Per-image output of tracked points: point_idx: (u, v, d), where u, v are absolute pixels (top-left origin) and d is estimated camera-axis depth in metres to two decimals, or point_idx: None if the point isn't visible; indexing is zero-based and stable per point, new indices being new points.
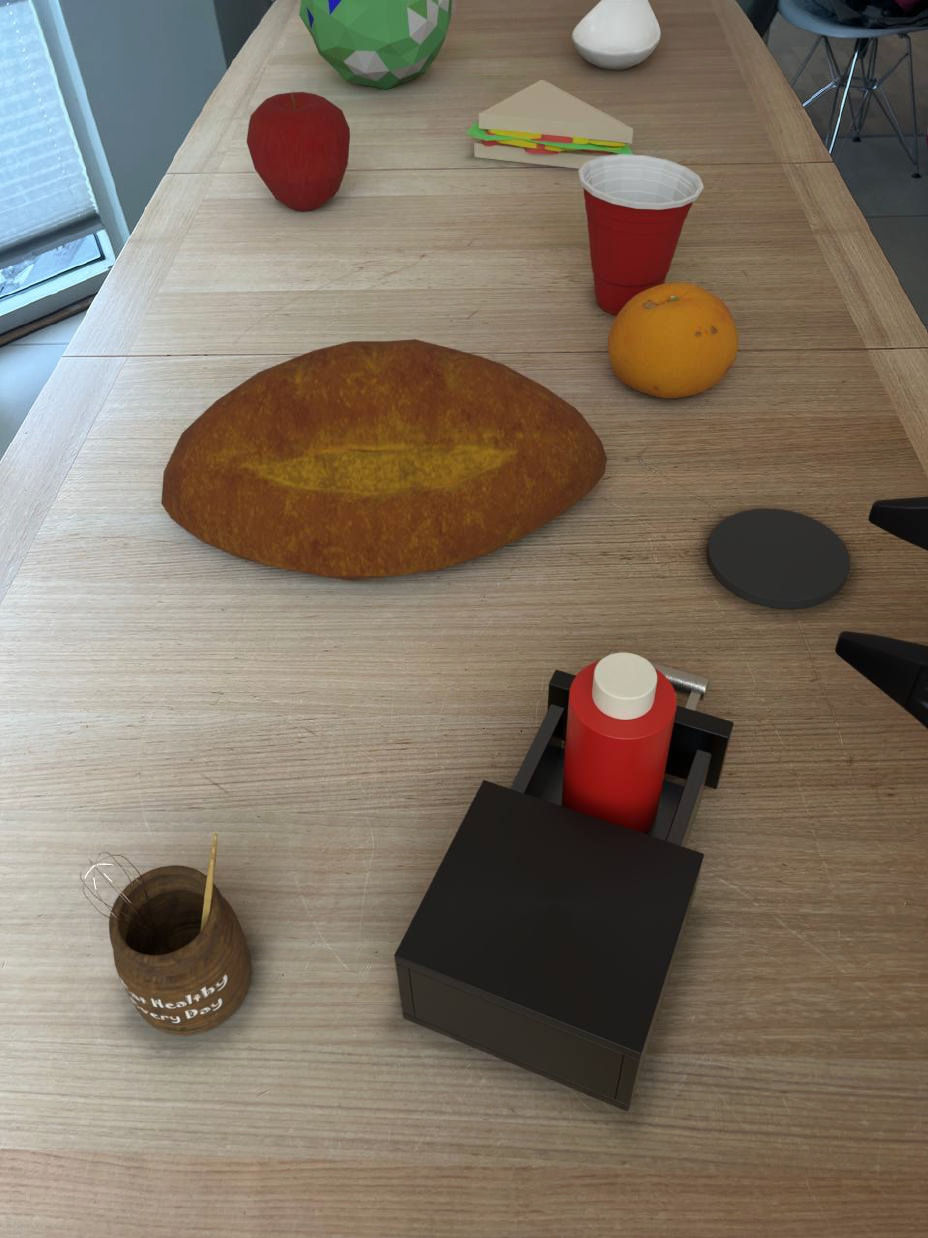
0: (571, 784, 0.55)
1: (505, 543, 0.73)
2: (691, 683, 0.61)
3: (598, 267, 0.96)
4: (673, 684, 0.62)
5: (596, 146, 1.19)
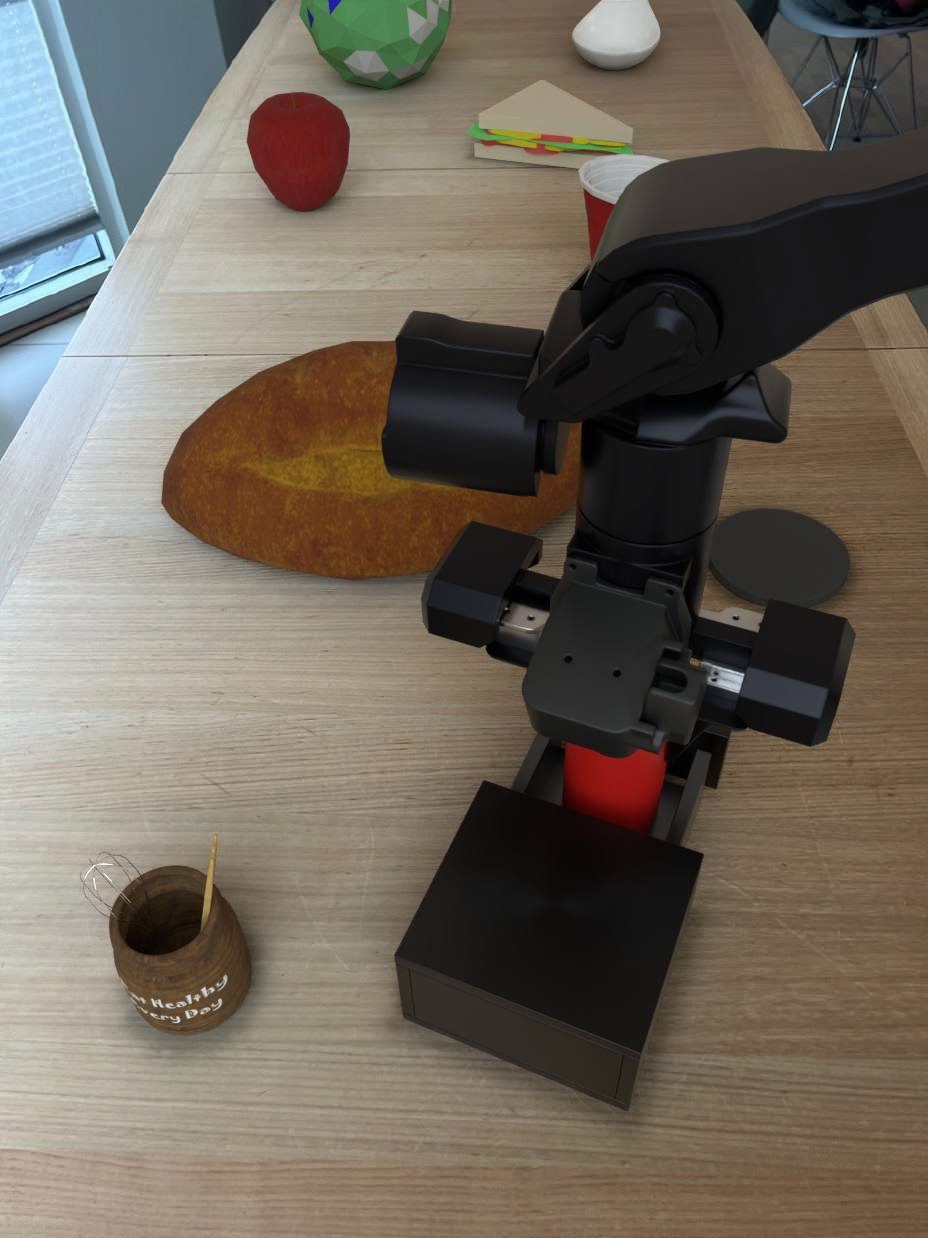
0: (571, 784, 0.55)
1: None
2: None
3: None
4: None
5: (596, 146, 1.19)
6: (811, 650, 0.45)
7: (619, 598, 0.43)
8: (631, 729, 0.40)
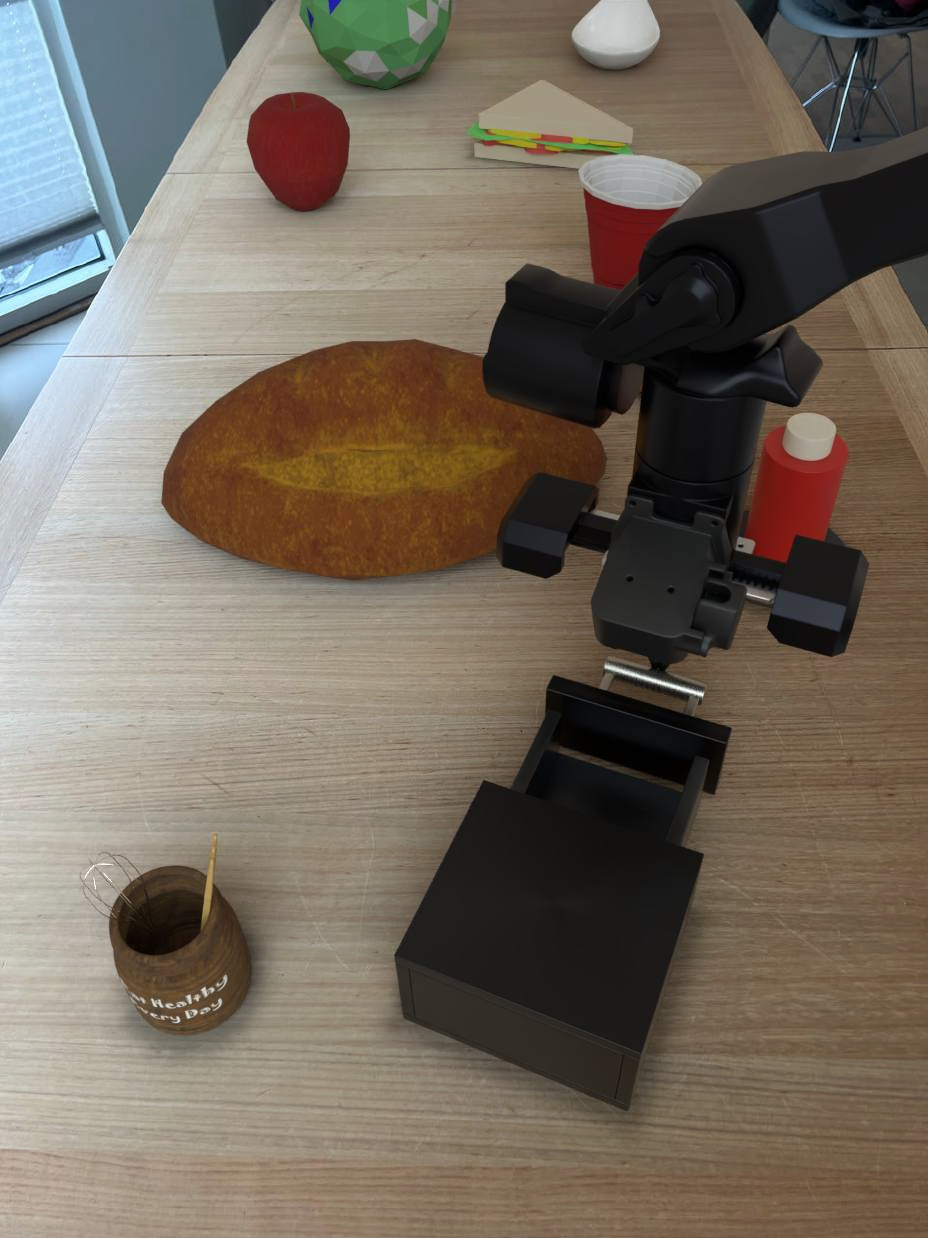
0: (758, 526, 0.71)
1: None
2: (689, 688, 0.61)
3: (598, 267, 0.96)
4: (671, 689, 0.61)
5: (596, 146, 1.19)
6: (831, 575, 0.53)
7: (671, 529, 0.51)
8: (684, 634, 0.49)
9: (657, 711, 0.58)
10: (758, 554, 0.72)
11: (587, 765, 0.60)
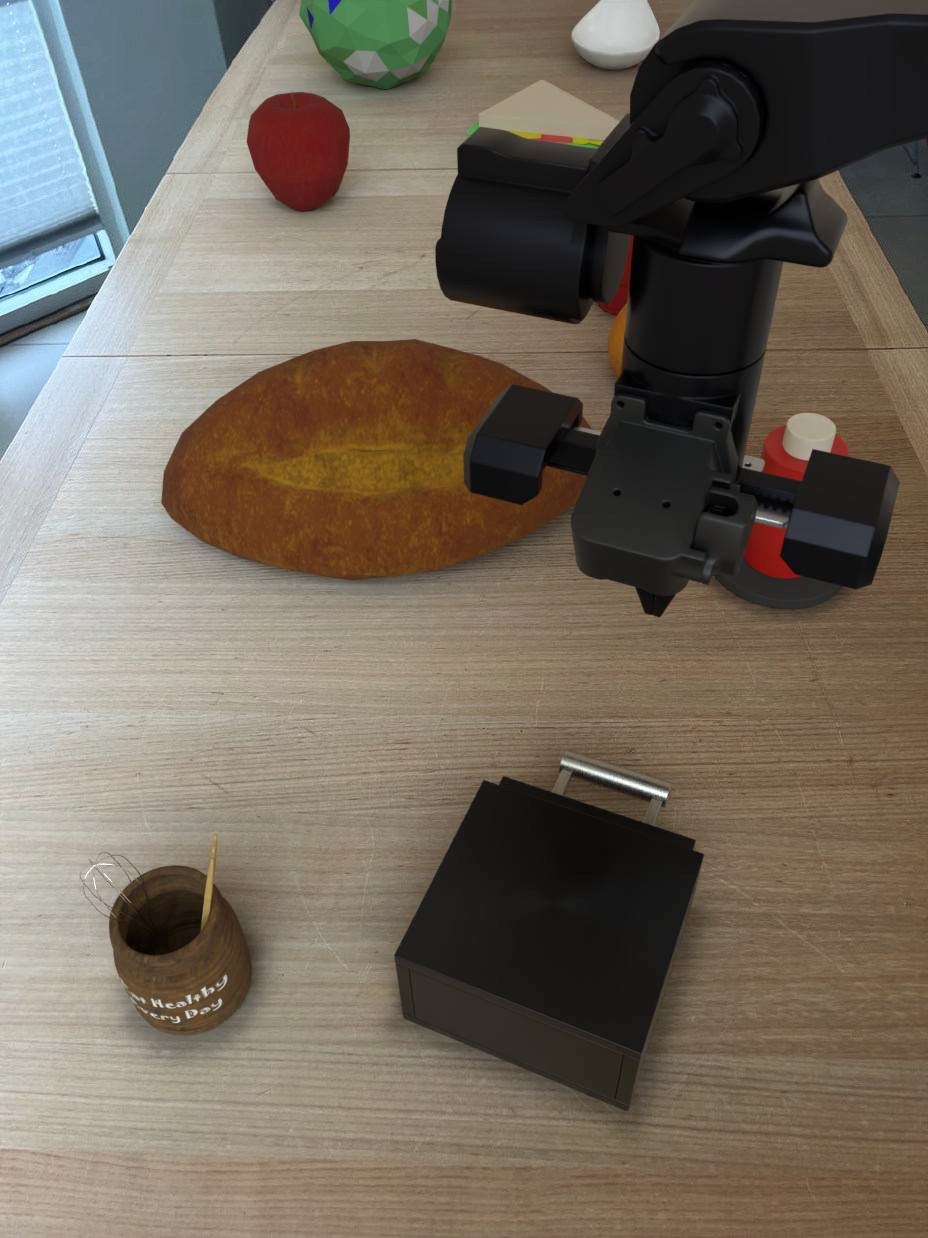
0: (758, 526, 0.71)
1: (505, 542, 0.73)
2: (651, 789, 0.56)
3: None
4: (632, 790, 0.57)
5: (596, 146, 1.19)
6: (856, 493, 0.45)
7: (667, 435, 0.43)
8: (682, 556, 0.41)
9: (614, 819, 0.53)
10: (758, 554, 0.72)
11: None
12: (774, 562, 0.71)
